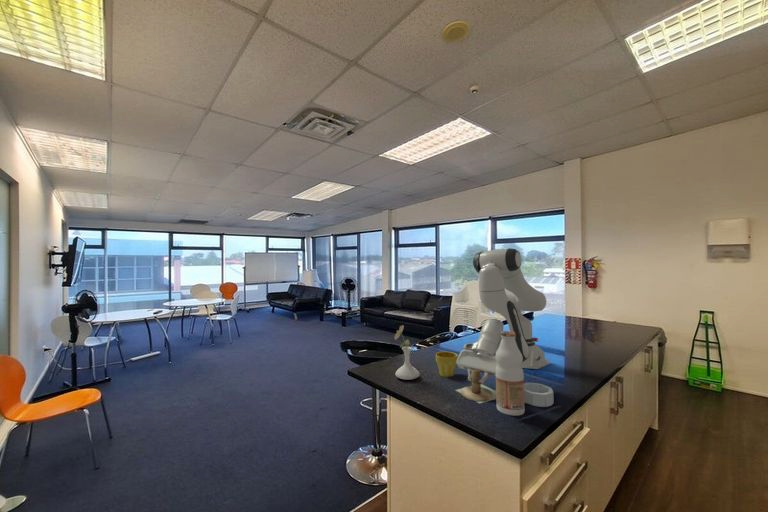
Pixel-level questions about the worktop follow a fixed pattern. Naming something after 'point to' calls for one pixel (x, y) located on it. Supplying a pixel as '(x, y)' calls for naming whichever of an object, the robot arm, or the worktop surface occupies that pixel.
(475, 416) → the worktop surface
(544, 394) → the bowl
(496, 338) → the robot arm
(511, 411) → the fruit juice
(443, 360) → the plant pot
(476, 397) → the lid
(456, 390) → the mat
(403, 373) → the flower in vase
